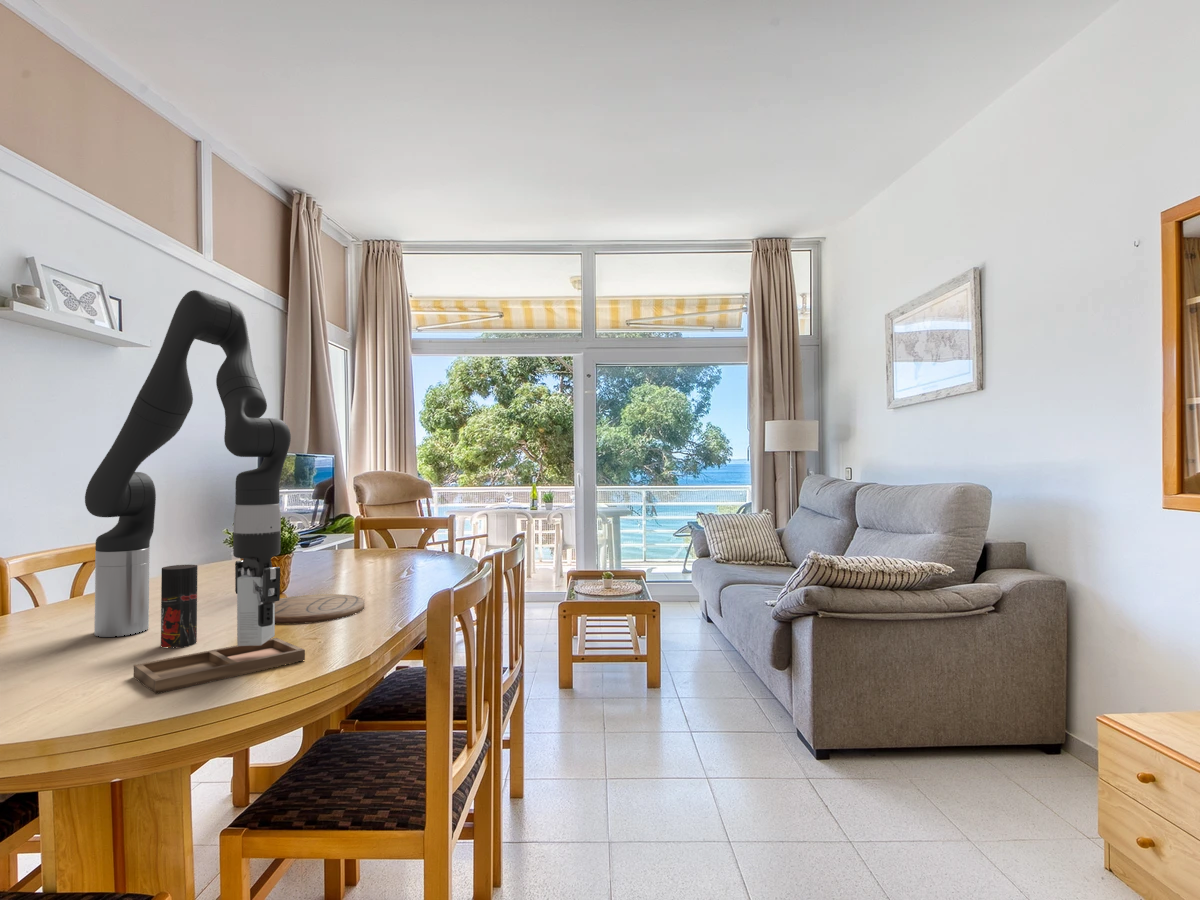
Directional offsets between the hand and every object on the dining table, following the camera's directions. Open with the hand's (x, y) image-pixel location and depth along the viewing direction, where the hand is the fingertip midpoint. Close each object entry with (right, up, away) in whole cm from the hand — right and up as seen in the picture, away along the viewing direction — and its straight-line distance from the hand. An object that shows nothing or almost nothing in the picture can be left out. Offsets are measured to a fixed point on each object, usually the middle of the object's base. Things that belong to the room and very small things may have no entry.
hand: (256, 622), depth 120 cm
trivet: (-8, -8, +40) cm, 42 cm away
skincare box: (0, -4, 0) cm, 4 cm away
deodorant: (-21, -7, +11) cm, 25 cm away
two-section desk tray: (-4, -7, -4) cm, 9 cm away
